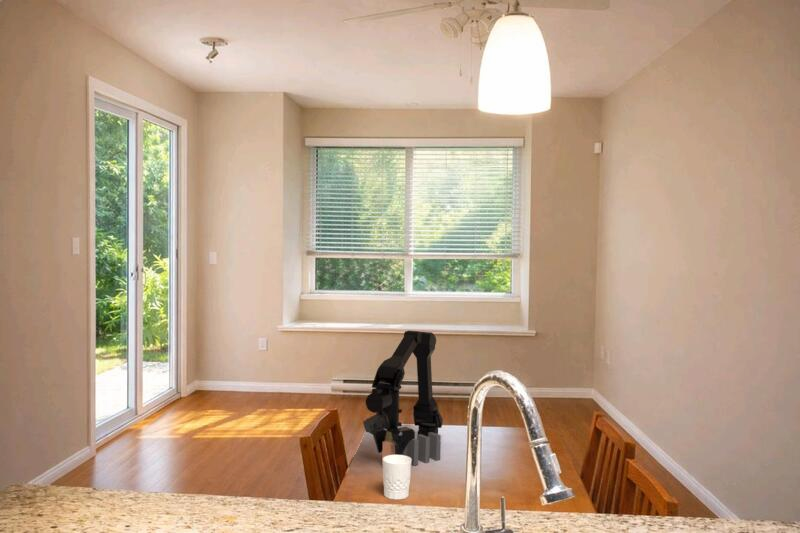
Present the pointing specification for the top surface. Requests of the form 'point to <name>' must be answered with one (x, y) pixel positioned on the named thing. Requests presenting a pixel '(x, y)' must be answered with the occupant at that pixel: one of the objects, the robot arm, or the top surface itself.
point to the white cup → (396, 476)
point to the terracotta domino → (387, 449)
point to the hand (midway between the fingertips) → (388, 456)
